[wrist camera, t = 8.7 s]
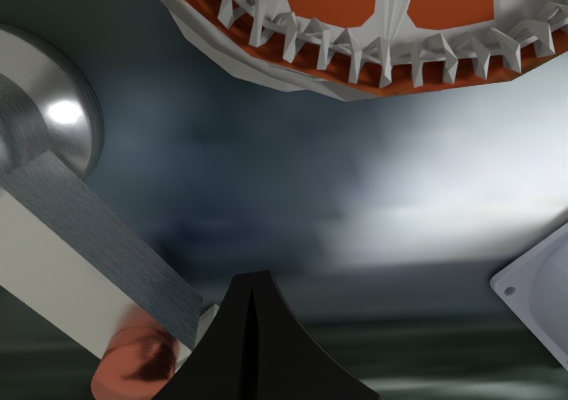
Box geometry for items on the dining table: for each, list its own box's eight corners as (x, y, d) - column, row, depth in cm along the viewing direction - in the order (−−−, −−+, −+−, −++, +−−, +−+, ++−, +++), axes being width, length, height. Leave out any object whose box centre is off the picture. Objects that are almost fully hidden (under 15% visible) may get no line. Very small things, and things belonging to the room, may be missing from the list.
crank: (-131, 114, 11) (-331, 157, 7) (-38, 28, 10) (-204, 25, 6) (142, 338, 15) (108, 437, 11) (220, 289, 14) (211, 377, 11)
